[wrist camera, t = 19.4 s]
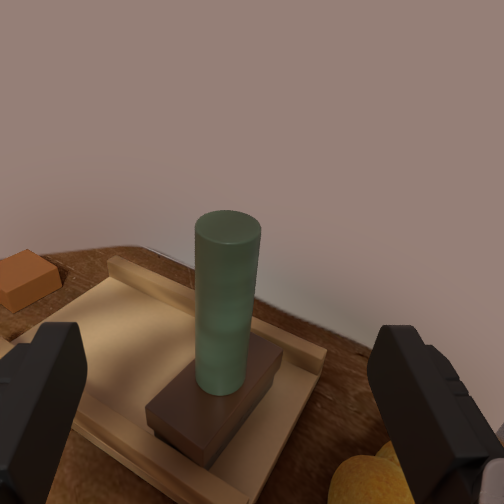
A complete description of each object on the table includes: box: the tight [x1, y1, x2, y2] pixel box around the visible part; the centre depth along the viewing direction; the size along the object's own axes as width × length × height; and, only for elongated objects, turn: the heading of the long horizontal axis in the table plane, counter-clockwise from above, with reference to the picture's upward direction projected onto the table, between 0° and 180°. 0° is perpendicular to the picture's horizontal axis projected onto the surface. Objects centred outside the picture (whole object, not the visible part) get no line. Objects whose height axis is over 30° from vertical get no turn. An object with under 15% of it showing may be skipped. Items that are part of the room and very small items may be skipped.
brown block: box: [0, 249, 62, 313], centre depth 30 cm, size 4×4×2 cm
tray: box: [0, 255, 327, 504], centre depth 24 cm, size 18×11×3 cm, turn 61°
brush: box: [145, 210, 283, 471], centre depth 18 cm, size 4×7×12 cm, turn 147°
